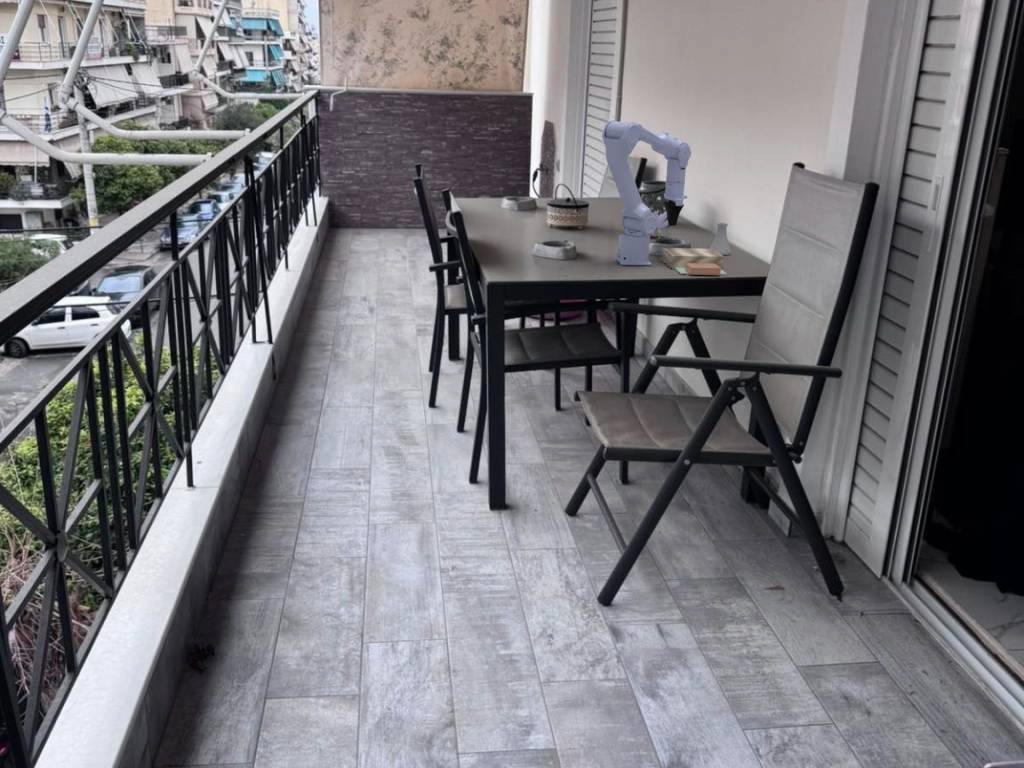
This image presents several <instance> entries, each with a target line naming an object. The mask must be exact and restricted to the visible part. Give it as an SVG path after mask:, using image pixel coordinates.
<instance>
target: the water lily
mask: <svg viewBox="0 0 1024 768" xmlns="http://www.w3.org/2000/svg"><path fill="white" fill-rule="evenodd" d="M651 213H652V214H653V215H654V216H655V217H656V219H657V226H656V229H655V231H654V235H655V236H657V237H658V240H659V239H660V238H661V235H662V230H661V229H662V228H665V227H667V226H669V225H668V219H667V212H666V211H664V212H663V213H660V214H658V212H657V211H656V210H654V211H653V212H652V211H651Z"/></svg>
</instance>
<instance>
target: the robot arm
mask: <svg viewBox="0 0 1024 768" xmlns="http://www.w3.org/2000/svg"><path fill="white" fill-rule="evenodd" d="M669 135H670V134H669V133H668V132H667V131H662V132H658V133H655V132H653V131H651V130H650V129H648V128H646V127H645V126H644V125H642V124H639V123H637V122H633V121H632V122H627V121H626V122H625V121H617V120H613V119H611V120H609V121H607V123H606V124H605V126H604V128H603V132H602V135H601V137H602V140H603V142H604V147H605V157H606V158H605V159H606V162H607V163H606V164H608V168H609V170H610V173H611V175H612V178H613V181H614V183H615V186H616V188H617V192H618V194H619V197H620V199H621V202H622V205H623V209H622V210H621V211H620V216H621V225H622V228H623V230H624V233H622V234H621V233H620V234H619V235H618V239H617V240H618V242H617V254H616V261H617V262H618V264H619V265H620V266H652V262H650V260H649V256H650V255H649V254H650V253H649V252H650V242H651V236H653V233H655V229H656V226H657V219H656V217H655V216H654V215H653V214H652V210H651V208H649V207H648V206H647V205H646V204H645V203H644V202H643V200H642V198H641V195H640V192H639V189H638V187H637V183H636V181H635V178H634V176H633V173H632V170H631V166H630V165H629V164H630V163H629V162H628V157H629V156H630V155H631V154H632V153H633V151H634V149H635V147H636V146H637V144H638V142H643V143H645V144H648V145H650V146H651V149H652V150H653V152H655V153H657V154H659V155H661V156H664V159H665V160H667V165H666V177H665V178H666V179H665V188H664V189H665V192H664V196H663V198H664V199H665V200H668V201H664V202H663V206H664V207H665V212H667V218H666V220H668V225H667V226H670V227H673V226H674V227H675V226H677V222H678V220H679V217H680V214H681V211H682V210H683V208H684V206H685V205H684V199H688V195H686V194H685V181H686V170H687V168H688V165H689V160H690V158H691V156H692V151H691V147H690V145H689V144H688V143H687V142H683V141H682V142H681V141H679V138H677V137H672V136H669Z"/></svg>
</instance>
